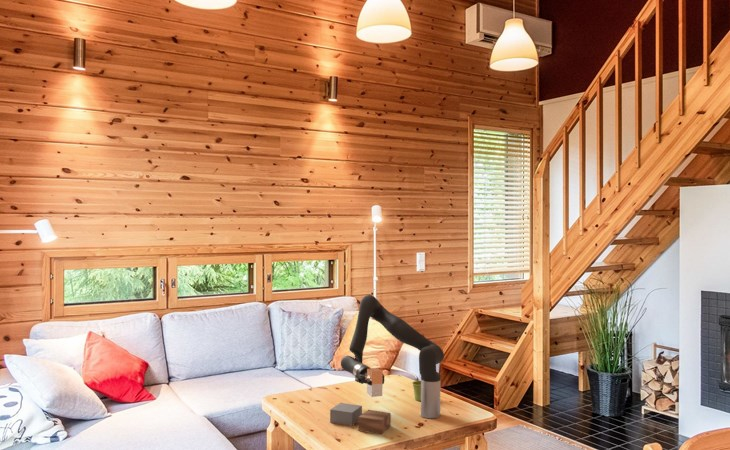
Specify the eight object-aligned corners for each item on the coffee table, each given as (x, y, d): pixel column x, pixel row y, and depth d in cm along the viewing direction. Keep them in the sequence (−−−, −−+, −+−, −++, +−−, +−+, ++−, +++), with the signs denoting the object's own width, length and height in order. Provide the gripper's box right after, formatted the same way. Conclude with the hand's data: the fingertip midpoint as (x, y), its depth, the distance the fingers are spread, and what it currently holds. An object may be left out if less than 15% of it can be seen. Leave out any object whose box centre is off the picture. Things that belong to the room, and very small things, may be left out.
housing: (377, 392, 269) (377, 367, 269) (382, 395, 264) (382, 371, 263) (366, 393, 267) (367, 368, 267) (371, 396, 262) (372, 372, 262)
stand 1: (340, 415, 283) (340, 402, 283) (361, 418, 278) (361, 405, 278) (330, 422, 273) (330, 409, 273) (351, 425, 268) (351, 412, 268)
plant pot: (419, 395, 315) (420, 379, 315) (433, 399, 308) (434, 383, 308) (408, 399, 308) (408, 382, 308) (422, 403, 302) (422, 386, 301)
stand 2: (368, 422, 273) (368, 409, 273) (390, 426, 268) (390, 412, 268) (358, 430, 263) (358, 416, 263) (381, 434, 258) (381, 420, 258)
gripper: (348, 366, 276) (362, 375, 260) (377, 363, 281) (392, 372, 265) (348, 382, 276) (361, 392, 260) (377, 379, 281) (391, 389, 266)
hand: (377, 382), depth 263 cm, fingers closed on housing, 5 cm apart
